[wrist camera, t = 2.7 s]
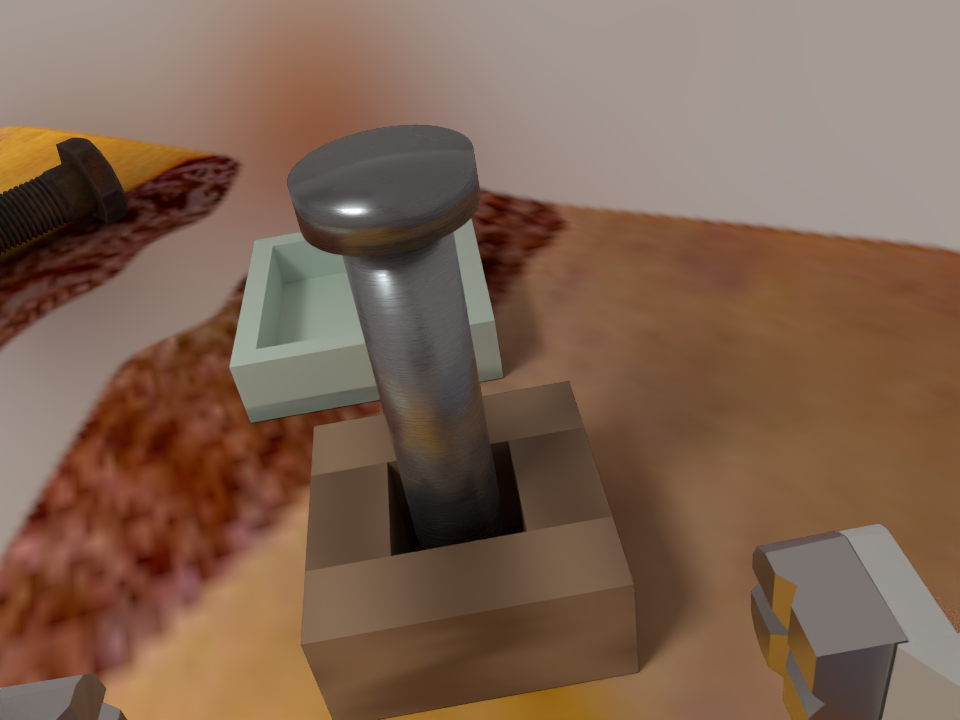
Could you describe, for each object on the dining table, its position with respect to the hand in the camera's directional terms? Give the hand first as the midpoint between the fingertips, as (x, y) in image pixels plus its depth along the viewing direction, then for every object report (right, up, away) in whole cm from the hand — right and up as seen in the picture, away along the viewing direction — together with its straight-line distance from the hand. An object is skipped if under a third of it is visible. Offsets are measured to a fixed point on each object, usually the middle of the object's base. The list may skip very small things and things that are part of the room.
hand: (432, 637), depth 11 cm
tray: (-4, +5, +31) cm, 32 cm away
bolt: (-29, +9, +44) cm, 53 cm away
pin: (0, -4, +19) cm, 19 cm away
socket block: (0, -4, +19) cm, 19 cm away
